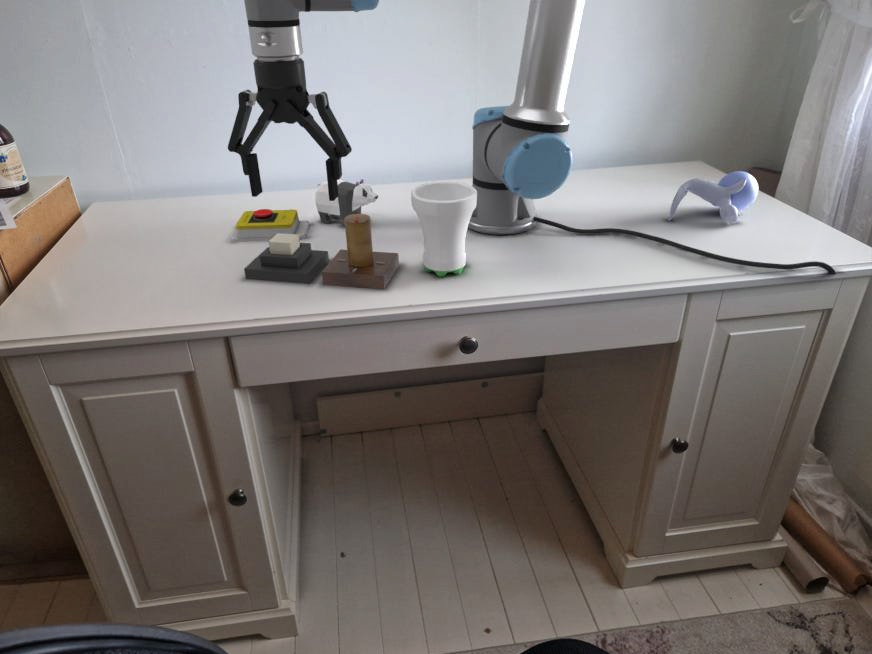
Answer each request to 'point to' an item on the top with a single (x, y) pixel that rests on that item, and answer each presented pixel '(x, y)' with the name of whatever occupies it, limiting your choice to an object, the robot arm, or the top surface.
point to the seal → (721, 193)
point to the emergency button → (268, 225)
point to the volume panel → (361, 271)
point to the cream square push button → (284, 244)
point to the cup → (444, 223)
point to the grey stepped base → (288, 265)
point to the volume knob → (359, 240)
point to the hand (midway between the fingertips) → (295, 196)
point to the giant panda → (343, 200)
